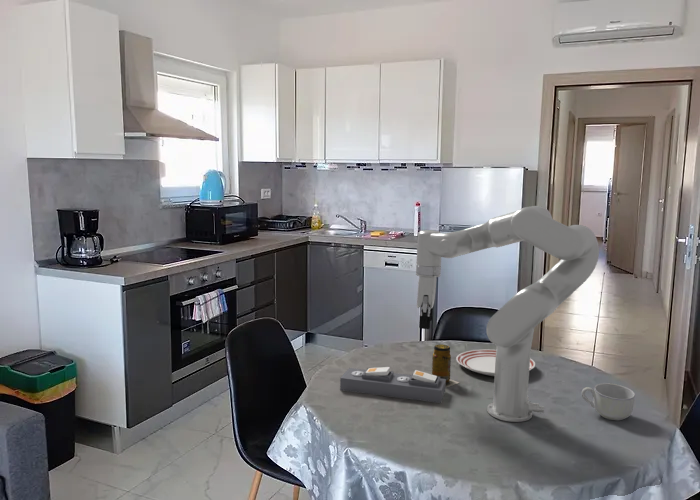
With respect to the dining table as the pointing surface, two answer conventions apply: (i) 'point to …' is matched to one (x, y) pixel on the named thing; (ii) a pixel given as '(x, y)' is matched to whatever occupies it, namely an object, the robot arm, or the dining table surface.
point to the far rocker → (378, 371)
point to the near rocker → (424, 376)
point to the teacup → (611, 400)
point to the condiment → (442, 363)
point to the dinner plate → (481, 361)
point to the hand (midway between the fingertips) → (425, 324)
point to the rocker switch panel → (393, 385)
